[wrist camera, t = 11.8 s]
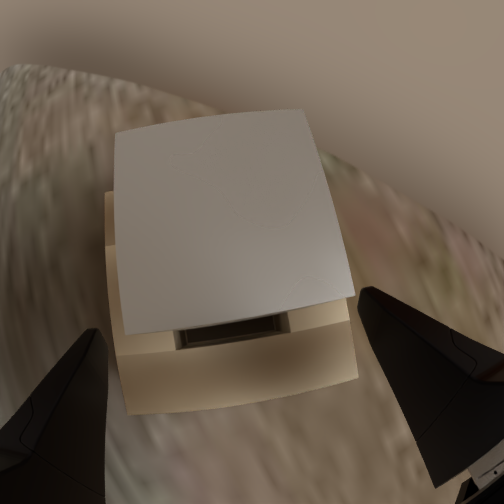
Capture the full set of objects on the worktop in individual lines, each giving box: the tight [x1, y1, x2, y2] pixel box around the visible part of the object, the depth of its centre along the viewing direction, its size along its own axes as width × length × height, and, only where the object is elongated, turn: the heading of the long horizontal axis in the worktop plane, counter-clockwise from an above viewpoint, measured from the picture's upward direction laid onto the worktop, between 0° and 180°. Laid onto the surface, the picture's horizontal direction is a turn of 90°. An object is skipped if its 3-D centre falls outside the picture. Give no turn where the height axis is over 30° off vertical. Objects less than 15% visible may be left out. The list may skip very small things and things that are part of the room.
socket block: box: [105, 191, 358, 415], centre depth 16 cm, size 11×11×4 cm
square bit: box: [114, 109, 355, 335], centre depth 11 cm, size 4×4×13 cm
